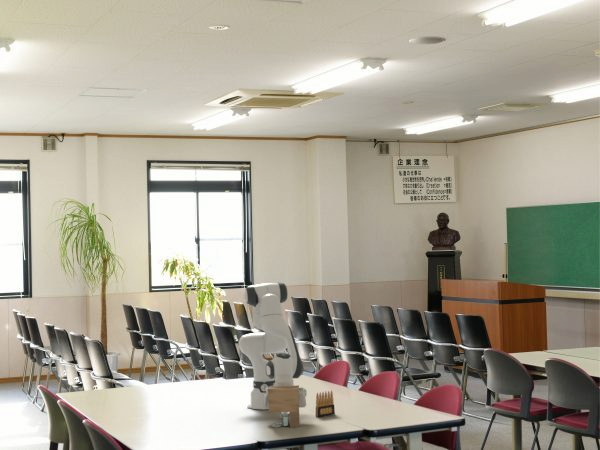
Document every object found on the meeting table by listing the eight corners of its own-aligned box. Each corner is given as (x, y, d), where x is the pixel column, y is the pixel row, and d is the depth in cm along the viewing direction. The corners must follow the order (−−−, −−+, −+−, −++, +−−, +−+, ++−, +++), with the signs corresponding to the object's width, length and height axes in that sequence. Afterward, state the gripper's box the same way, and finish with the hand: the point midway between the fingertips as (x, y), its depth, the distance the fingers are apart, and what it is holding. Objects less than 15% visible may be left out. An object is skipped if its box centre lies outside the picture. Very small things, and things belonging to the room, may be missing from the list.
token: (271, 426, 420) (271, 423, 421) (282, 425, 421) (282, 423, 421) (272, 428, 416) (271, 425, 416) (282, 427, 416) (282, 425, 416)
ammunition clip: (317, 417, 436) (317, 392, 437) (315, 417, 438) (314, 392, 438) (335, 414, 443) (334, 390, 443) (332, 414, 444) (331, 389, 444)
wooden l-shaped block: (269, 425, 422) (267, 386, 422) (300, 423, 422) (298, 385, 423) (268, 428, 414) (267, 389, 415) (300, 426, 415) (299, 387, 415)
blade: (283, 417, 438) (283, 408, 438) (287, 417, 438) (287, 408, 438) (283, 425, 416) (283, 417, 416) (287, 425, 416) (287, 416, 416)
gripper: (306, 386, 431) (307, 415, 430) (263, 387, 430) (264, 416, 430) (306, 388, 424) (307, 417, 424) (263, 390, 424) (264, 419, 423)
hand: (285, 417), depth 427 cm, fingers closed on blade, 2 cm apart
